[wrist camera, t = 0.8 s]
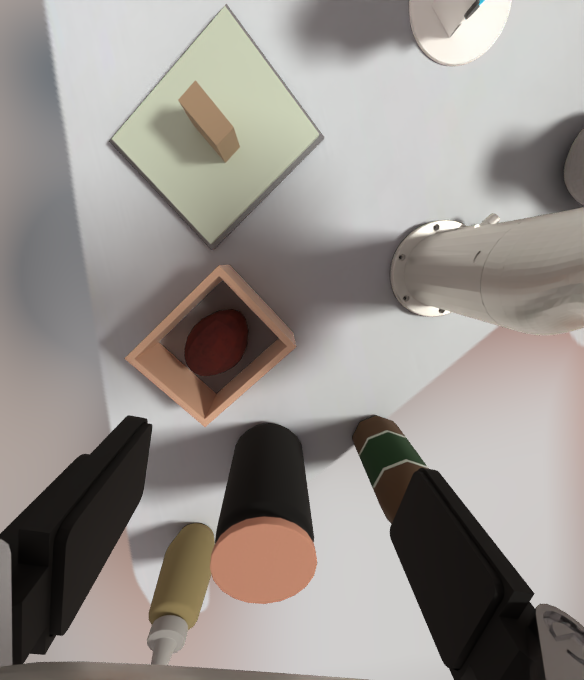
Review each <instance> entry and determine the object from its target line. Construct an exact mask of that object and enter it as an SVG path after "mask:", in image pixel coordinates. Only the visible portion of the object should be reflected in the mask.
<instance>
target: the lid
mask: <svg viewBox="0 0 584 680" xmlns="http://www.w3.org/2000/svg"><path fill="white" fill-rule="evenodd" d="M318 136H319V133H318V131H317V130H316V129H315V127H314V126H313V124H312V123H311V122H310V120H309V119H308V118H307V116H306V115H305V114H304V112H303V111H302V110H301V108H300V107H299V105H298V104H297V103H296V101H295V100H294V99H293V97H292V96H291V95H290V93H289V92H288V91H287V89H286V88H285V86H284V85H283V84H282V82H281V81H280V80H279V78H278V77H277V76H276V74H275V73H274V72H273V70H272V69H271V67H270V66H269V65H268V63H267V62H266V61H265V59H264V58H263V57H262V55H261V54H260V53H259V51H258V50H257V48H256V47H255V46H254V44H253V43H252V42H251V40H250V39H249V38H248V36H247V35H246V34H245V32H244V31H243V29H242V28H241V27H240V25H239V24H238V23H237V21H236V20H235V19H234V17H233V16H232V15H231V13H230V12H229V10H228V9H227V8H226V6H224V8H223V9H222V10H221V11H220V12H219V13H218V15H217V16H216V17H215V18H214V19H213V20H212V22H211V23H210V24H209V25H208V26H207V27H206V29H205V30H204V31H203V32H202V33H201V35H200V36H199V37H198V38H197V39H196V40H195V42H194V43H193V44H192V45H191V46H190V47H189V49H188V50H187V51H186V52H185V53H184V54H183V56H182V57H181V58H180V59H179V60H178V61H177V63H176V64H175V65H174V66H173V67H172V68H171V70H170V71H169V72H168V73H167V74H166V76H165V77H164V78H163V79H162V80H161V81H160V83H159V84H158V85H157V86H156V87H155V88H154V90H153V91H152V92H151V93H150V94H149V95H148V97H147V98H146V99H145V100H144V101H143V102H142V104H141V105H140V106H139V107H138V108H137V109H136V111H135V112H134V113H133V114H132V115H131V117H130V118H129V119H128V120H127V121H126V122H125V124H124V125H123V126H122V127H121V128H120V129H119V131H118V132H117V133H116V134H115V135H114V136H113V138H112V140H113V141H114V142H115V143H116V144H117V145H118V146H119V147H120V148H121V149H122V150H123V151H124V153H125V154H126V155H127V156H128V157H129V158H130V159H131V160H132V161H133V162H134V163H135V164H136V165H137V166H138V167H139V168H140V170H141V171H142V172H143V173H144V174H145V175H146V176H147V177H148V178H149V179H150V180H151V181H152V182H153V183H154V184H155V186H156V187H157V188H158V189H159V190H160V191H161V192H162V193H163V194H164V195H165V196H166V197H167V198H168V199H169V200H170V201H171V203H172V204H173V205H174V206H175V207H176V208H177V209H178V210H179V211H180V212H181V213H182V214H183V215H184V216H185V217H186V219H187V220H188V221H189V222H190V223H191V224H192V225H193V226H194V227H195V228H196V229H197V230H198V231H199V232H200V233H201V235H202V236H203V237H204V238H205V239H206V240H207V241H208V242H209V243H210V244H212V243H213V242H214V241H215V240H216V239H217V238H218V237H219V236H220V235H221V234H222V233H223V232H224V231H225V230H226V229H227V228H228V227H229V226H230V225H231V224H232V223H233V222H234V221H235V220H236V219H237V218H238V217H239V216H240V215H241V214H242V213H243V212H244V211H245V210H246V209H247V208H248V207H249V206H250V205H251V204H252V203H253V202H254V201H255V200H256V199H257V198H258V197H259V196H260V195H261V194H262V193H263V192H264V191H265V190H266V189H267V188H268V187H269V186H270V185H271V184H272V183H273V182H274V181H275V180H276V179H277V178H278V177H279V176H280V175H281V174H282V173H283V172H284V171H285V170H286V169H287V168H288V167H289V166H290V165H291V164H292V163H293V162H294V161H295V160H296V159H297V158H298V157H299V156H300V155H301V154H302V153H303V152H304V151H305V150H306V149H307V148H308V147H309V146H310V145H311V144H312V143H313V142H314V141H315V140H316V139H317V138H318Z"/></svg>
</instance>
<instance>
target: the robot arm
mask: <svg viewBox="0 0 584 680" xmlns="http://www.w3.org/2000/svg"><path fill="white" fill-rule="evenodd" d="M499 221H500V218H499V216H498V215H496V214H493V213H492V214H490V215H489V216H488V217H487V218H486V219H485V220H483V221H482V223H481V224H479V225H478V224H477V225H472V226H466V225H464V224H462V223H459V222H456V221H451V220H439V221H434V222H430V223H427V224H425V225H422V226H420V227H418V228H417V229H415V230H414V231H412V232H411V233H410V234H409V235H408V236H407V237H406V238H405V239H404V240H403V241H402V243H401V244H400V245H399V247H398V249H397V250H396V252H395V255H394V257H393V260H392V264H391V270H390V281H391V285H392V290H393V292H394V294H395V296H396V298H397V299H398V301H399V302H400V303H401V304H402V305H403V306H404V307H405V308H406V309H408V310H409V311H411V312H413V313H416V314H418V315H422V316H427V317H437V316H443V315H446V314H449V313H451V312H453V313H456V314H460V315H463V316H467V317H470V318H474V319H477V320H481V321H484V322H488V323H491V324H495V325H498V326H502V327H505V328H508V329H512V330H515V331H519V332H523V333H527V334H533V335H554V334H562V333H567V332H571V331H574V330H577V329H581V328H584V207H582V208H577V209H572V210H567V211H561V212H556V213H550V214H545V215H539V216H535V217H530V218H524V219H518V220H513V221H507V222H501V223H498V222H499ZM433 227H434V230H433ZM399 256H401V259H399ZM404 296H405V299H403V297H404ZM439 309H440V310H439ZM147 422H148V421H147V419H146V418H141V417H135V416H127V417H126V418H125V419H124V420H123V421H122V422H121V423H120V424H119V425H118V426H117V427H116V428H115V429H114V430H113V431H112V432H111V433H110V434H109V435H108V436H107V437H106V438H105V439H104V440H103V441H102V443H101V444H100V445H99V446H98V447H97V448H96V449H95V450H94V451H93V452H92V453H91V454H90V455H89V454H82V455H80V456H79V457H78V458H76V459H75V460H74V461H73V463H71V464H70V465H69V466H68V467H67V468H66V469H65V470H64V471H63V472H62V473H61V474H60V475H59V476H58V477H57V478H56V479H55V480H54V481H53V482H52V483H51V484H50V485H49V486H48V487H47V488H46V489H45V490H44V491H43V492H42V493H41V494H40V495H39V496H38V497H37V498H36V499H35V500H34V501H33V502H32V503H31V504H30V505H29V506H28V507H27V508H26V509H25V510H24V511H23V512H22V513H21V514H20V515H19V516H18V517H17V518H16V519H15V520H14V521H13V522H12V523H11V524H10V525H9V526H8V527H7V528H6V529H5V530H4V531H3V532H2V533H1V534H0V680H367V679H353V678H340V677H326V676H313V675H300V674H286V673H271V672H257V671H243V670H228V669H213V668H199V667H183V666H169V665H150V664H128V663H126V664H125V663H106V662H36V663H27V664H23V663H24V662H25V660H26V659H27V657H28V655H29V654H42V655H44V654H46V652H47V650H48V648H49V647H50V645H51V643H52V642H53V640H54V638H55V636H56V635H60V636H61V635H64V634H65V633H66V631H67V630H68V628H69V626H70V625H71V623H72V621H73V620H74V618H75V616H76V614H77V613H78V611H79V609H80V607H81V605H82V603H83V602H84V600H85V598H86V596H87V595H88V593H89V591H90V589H91V588H92V586H93V584H94V582H95V581H96V579H97V577H98V575H99V573H100V572H101V570H102V568H103V566H104V565H105V563H106V561H107V559H108V557H109V556H110V554H111V552H112V550H113V549H114V546H115V545H116V543H117V541H118V539H119V538H120V536H121V534H122V533H123V531H124V529H125V527H126V525H127V524H128V522H129V520H130V518H131V516H132V515H133V513H134V511H135V509H136V508H137V506H138V504H139V502H140V500H141V497H142V494H143V490H144V483H145V476H146V469H147V462H148V455H149V447H150V440H151V433H152V424H147ZM390 537H391V540H392V543H393V545H394V547H395V550H396V552H397V555H398V557H399V559H400V562H401V564H402V566H403V569H404V571H405V574H406V576H407V578H408V581H409V583H410V585H411V588H412V590H413V592H414V595H415V597H416V599H417V602H418V604H419V607H420V609H421V611H422V614H423V616H424V619H425V621H426V623H427V626H428V628H429V630H430V633H431V635H432V638H433V640H434V642H435V645H436V647H437V649H438V652H439V654H440V656H441V659H442V661H443V662H444V664H445V665H446V666H447V667H448V668H449V669H450V671H451V674H452V676H453V678H454V680H584V627H583V626H582V625H581V624H580V623H579V622H577V621H576V620H575V619H573V618H572V617H571V616H569V615H568V614H567V613H565V612H563V611H561V610H560V609H558V608H556V607H554V606H551V605H548V604H540V605H538V606H537V607H536V608H534V607H533V606H532V604H531V603H530V602H529V601H530V600H531V598H532V597H533V595H534V593H533V591H532V590H531V589H530V588H529V586H528V585H527V583H526V582H525V581H524V580H523V579H522V577H521V576H520V575H519V573H518V572H517V571H516V569H515V568H514V567H513V566H512V564H511V563H510V562H509V561H508V559H507V558H506V557H505V556H504V554H503V553H502V552H501V551H500V549H499V548H498V547H497V545H496V544H495V543H494V542H493V540H492V539H491V538H490V537H489V535H488V534H487V533H486V531H485V530H484V529H483V528H482V526H481V525H480V524H479V522H478V521H477V520H476V519H475V517H474V516H473V515H472V514H471V512H470V511H469V510H468V508H467V507H466V506H465V505H464V504H463V502H462V501H461V500H460V498H459V497H458V496H457V495H456V493H455V492H454V491H453V489H452V488H451V487H450V486H449V484H448V483H447V482H446V480H445V479H444V478H443V477H442V476H441V474H440V473H439V472H438V471H436V470H431V469H426V468H419V469H418V471H415V472H414V473H413V475H412V477H411V480H410V482H409V485H408V487H407V489H406V492H405V494H404V496H403V499H402V501H401V503H400V506H399V508H398V510H397V513H396V515H395V517H394V520H393V522H392V525H391V527H390Z"/></svg>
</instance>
